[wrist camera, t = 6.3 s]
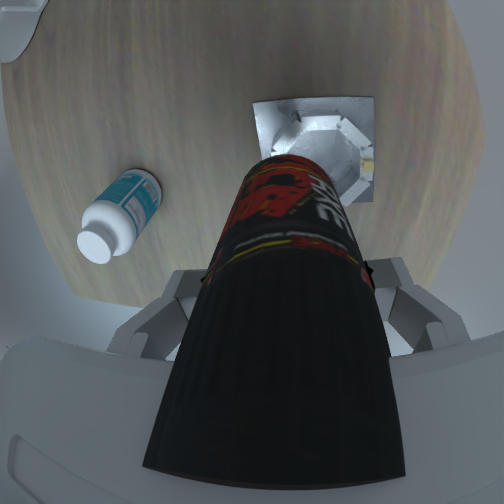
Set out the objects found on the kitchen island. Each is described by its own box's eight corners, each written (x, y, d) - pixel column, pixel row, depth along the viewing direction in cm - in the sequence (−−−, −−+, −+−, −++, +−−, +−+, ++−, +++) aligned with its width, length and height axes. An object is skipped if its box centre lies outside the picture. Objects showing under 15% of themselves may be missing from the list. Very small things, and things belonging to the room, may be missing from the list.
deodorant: (349, 171, 15) (467, 454, 3) (315, 250, 18) (329, 497, 6) (251, 142, 14) (111, 444, 2) (231, 228, 18) (153, 475, 6)
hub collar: (253, 102, 28) (247, 109, 23) (372, 97, 25) (388, 103, 21) (269, 205, 36) (267, 228, 32) (371, 199, 34) (383, 221, 29)
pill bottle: (113, 196, 37) (64, 251, 27) (129, 158, 33) (71, 207, 23) (152, 220, 39) (112, 282, 29) (172, 184, 35) (128, 244, 25)
